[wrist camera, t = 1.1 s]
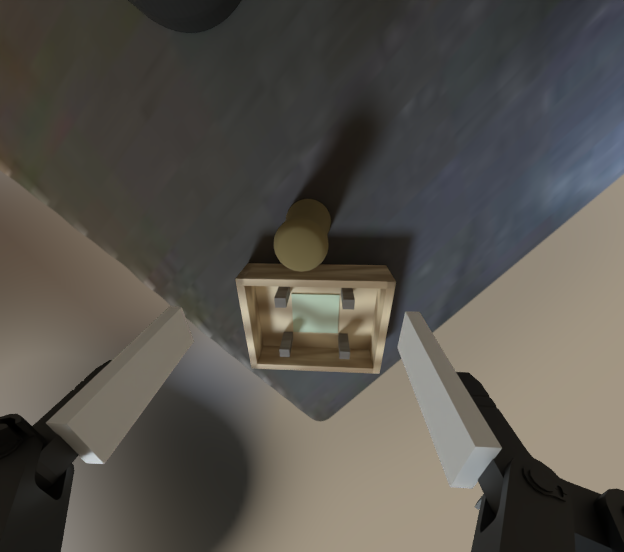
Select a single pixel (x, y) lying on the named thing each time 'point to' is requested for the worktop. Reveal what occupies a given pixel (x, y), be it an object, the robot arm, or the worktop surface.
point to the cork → (303, 236)
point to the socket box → (316, 316)
